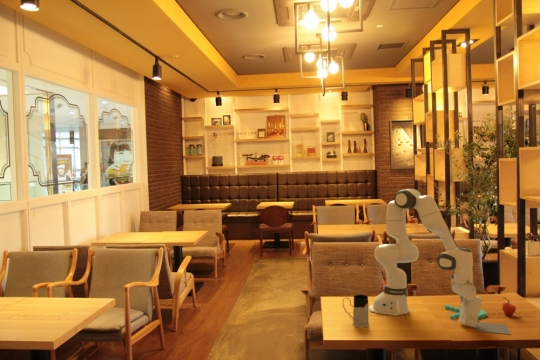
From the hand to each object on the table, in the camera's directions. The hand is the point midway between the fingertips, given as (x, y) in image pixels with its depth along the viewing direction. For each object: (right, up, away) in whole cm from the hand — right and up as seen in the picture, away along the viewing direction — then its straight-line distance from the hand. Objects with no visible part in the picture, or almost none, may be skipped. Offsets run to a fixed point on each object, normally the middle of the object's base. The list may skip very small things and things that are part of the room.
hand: (463, 304), depth 247 cm
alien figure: (+9, -11, +19) cm, 24 cm away
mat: (+13, -11, -3) cm, 17 cm away
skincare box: (+1, -11, 0) cm, 11 cm away
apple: (+31, -11, +16) cm, 37 cm away
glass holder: (-56, -12, +5) cm, 57 cm away
